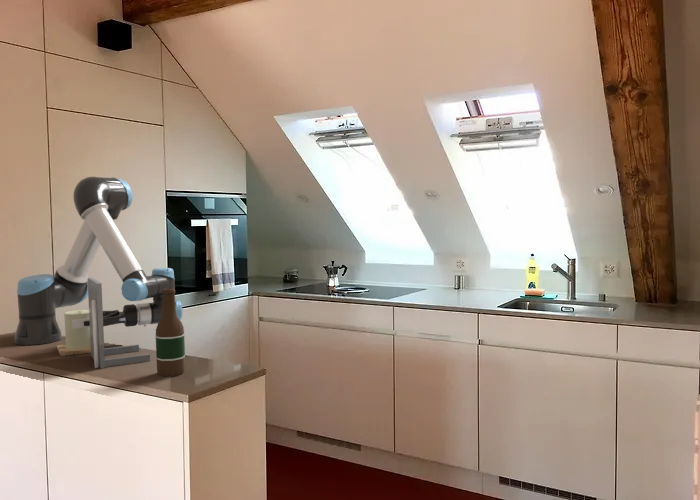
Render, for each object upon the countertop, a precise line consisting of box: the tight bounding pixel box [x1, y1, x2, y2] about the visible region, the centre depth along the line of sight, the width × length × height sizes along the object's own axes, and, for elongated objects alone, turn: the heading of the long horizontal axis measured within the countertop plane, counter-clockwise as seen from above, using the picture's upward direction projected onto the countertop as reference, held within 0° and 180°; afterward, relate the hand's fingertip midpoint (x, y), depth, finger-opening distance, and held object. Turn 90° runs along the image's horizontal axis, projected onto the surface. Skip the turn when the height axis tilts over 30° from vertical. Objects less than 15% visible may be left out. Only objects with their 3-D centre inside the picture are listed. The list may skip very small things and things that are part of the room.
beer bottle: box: [155, 288, 186, 378], centre depth 174 cm, size 8×8×24 cm
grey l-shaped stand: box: [87, 277, 151, 369], centre depth 193 cm, size 20×16×25 cm
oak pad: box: [56, 343, 91, 357], centre depth 207 cm, size 13×13×1 cm
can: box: [63, 309, 91, 349], centre depth 207 cm, size 9×9×12 cm
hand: (69, 321), depth 205 cm, fingers open, 13 cm apart
